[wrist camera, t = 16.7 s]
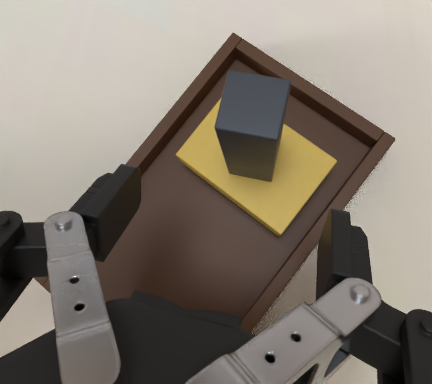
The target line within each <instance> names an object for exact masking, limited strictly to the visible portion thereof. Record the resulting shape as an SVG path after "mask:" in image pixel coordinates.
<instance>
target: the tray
mask: <svg viewBox="0 0 432 384" xmlns="http://www.w3.org/2000/svg"><path fill="white" fill-rule="evenodd" d="M229 70H234V71H240V72H246V73H252V74H258V75H264V76H270V77H276V78H282V79H288V80H291V86H290V92H289V97H288V103H287V108H286V114H285V119H284V124H285V125H287V126H288V127H290V128H291V129H292V130H294V131H295V132H297V133H298V134H300V135H301V136H303V137H304V138H306V139H307V140H308V141H310V142H311V143H313V144H314V145H316V146H317V147H319V148H320V149H321V150H323V151H324V152H326V153H327V154H329V155H330V156H332V157H333V158H334V159H336V160H337V163H336V164H335V165H334V166H333V168H332V169H331V170H330V172H329V173H328V174H327V176H326V177H325V178H324V180H323V181H322V182H321V183H320V185H319V186H318V187H317V189H316V190H315V191H314V193H313V194H312V195H311V197H310V198H309V199H308V200H307V202H306V203H305V204H304V206H303V207H302V208H301V210H300V211H299V212H298V214H297V215H296V216H295V217H294V219H293V220H292V221H291V223H290V224H289V225H288V227H287V228H286V229H285V231H284V232H283V233H282V234H281V236H280V237H277V236H276V235H274V234H273V233H272V232H270V231H269V230H268V229H267V228H265V227H264V226H263V225H261V224H260V223H259V222H257V221H256V220H255V219H253V218H252V217H251V216H250V215H248V214H247V213H246V212H244V211H243V210H242V209H240V208H239V207H238V206H236V205H235V204H234V203H232V202H231V201H230V200H229V199H227V198H226V197H225V196H223V195H222V194H221V193H219V192H218V191H217V190H215V189H214V188H213V187H212V186H210V185H209V184H208V183H206V182H205V181H204V180H202V179H201V178H200V177H198V176H197V175H196V174H194V173H193V172H192V171H191V170H189V169H188V168H187V167H185V166H184V165H183V164H182V162H181V161H180V160H179V158H178V157H177V156H176V153H177V152H178V151H179V150H180V148H181V147H182V146H183V145H184V143H185V142H186V141H187V140H188V139H189V137H190V136H191V135H192V134H193V132H194V131H195V130H196V129H197V127H198V126H199V125H200V124H201V122H202V121H203V120H204V119H205V117H206V116H207V115H208V114H209V112H210V111H211V110H212V109H213V108H214V106H215V105H216V104H217V103H218V101H219V100H220V99H221V98H222V94H223V90H224V86H225V81H226V77H227V73H228V71H229ZM394 141H395V138H394V137H392V136H391V135H389V134H388V133H386V132H384V131H383V130H382V129H380V128H379V127H377V126H376V125H374V124H372V123H371V122H369V121H368V120H366V119H365V118H363V117H362V116H360V115H359V114H357V113H356V112H354V111H353V110H351V109H349V108H348V107H346V106H345V105H343V104H342V103H340V102H339V101H337V100H336V99H334V98H333V97H331V96H330V95H328V94H327V93H325V92H323V91H322V90H320V89H319V88H317V87H316V86H314V85H313V84H311V83H310V82H308V81H307V80H305V79H304V78H302V77H300V76H299V75H297V74H296V73H294V72H293V71H291V70H290V69H288V68H287V67H285V66H284V65H282V64H281V63H279V62H277V61H276V60H274V59H273V58H271V57H270V56H268V55H267V54H265V53H264V52H262V51H261V50H259V49H258V48H256V47H255V46H253V45H251V44H250V43H248V42H247V41H245V40H244V39H242V38H241V37H239V36H238V35H236V34H235V33H232V34H231V36H230V37H229V38H228V39H227V41H226V42H225V43H224V44H223V45H222V47H221V48H220V49H219V50H218V52H217V53H216V54H215V55H214V56H213V58H212V59H211V60H210V61H209V63H208V64H207V65H206V66H205V68H204V69H203V70H202V71H201V72H200V74H199V75H198V76H197V77H196V79H195V80H194V81H193V82H192V83H191V85H190V86H189V87H188V88H187V90H186V91H185V92H184V93H183V95H182V96H181V97H180V98H179V99H178V101H177V102H176V103H175V104H174V106H173V107H172V108H171V109H170V111H169V112H168V113H167V114H166V115H165V117H164V118H163V119H162V120H161V122H160V123H159V124H158V125H157V126H156V128H155V129H154V130H153V131H152V133H151V134H150V135H149V136H148V138H147V139H146V140H145V141H144V142H143V144H142V145H141V146H140V147H139V149H138V150H137V151H136V152H135V153H134V155H133V156H132V157H131V158H130V160H129V161H128V162H127V163H126V165H130V166H134V167H139V168H140V171H141V203H140V207H139V209H138V211H137V212H136V214H135V215H134V217H133V219H132V220H131V222H130V223H129V225H128V226H127V228H126V229H125V231H124V232H123V234H122V235H121V237H120V238H119V240H118V241H117V243H116V244H115V246H114V247H113V249H112V250H111V252H110V253H109V255H108V256H107V258H106V259H105V261H104V262H99V261H95V260H94V261H95V265H96V269H97V273H98V277H99V281H100V285H101V289H102V293H103V297H104V300H105V302H108V301H111V300H115V299H121V298H131V296H132V294H133V292H134V291H135V290H137V291H141V292H145V293H149V294H152V295H156V296H160V297H162V298H164V299H166V300H168V301H170V302H172V303H174V304H176V305H177V306H179V307H181V308H183V309H187V310H213V311H219V312H223V313H227V314H230V315H234V316H238V317H242V321H241V327H243V328H245V329H247V330H248V331H250V332H251V331H252V330H253V329H254V327H255V326H256V325H257V323H258V322H259V321H260V319H261V318H262V317H263V315H264V314H265V313H266V311H267V310H268V309H269V307H270V306H271V305H272V303H273V302H274V301H275V299H276V298H277V297H278V295H279V294H280V293H281V291H282V290H283V289H284V287H285V286H286V285H287V283H288V282H289V281H290V279H291V278H292V277H293V275H294V274H295V273H296V271H297V270H298V269H299V267H300V266H301V265H302V263H303V262H304V261H305V259H306V258H307V257H308V255H309V254H310V253H311V251H312V250H313V249H314V247H315V246H316V245H317V243H318V242H319V240H320V237H321V233H322V230H323V227H324V224H325V221H326V218H327V215H328V212H329V210H330V208H332V209H337V210H343V209H344V207H345V206H346V205H347V203H348V202H349V201H350V199H351V198H352V197H353V195H354V194H355V193H356V191H357V190H358V189H359V187H360V186H361V185H362V183H363V182H364V181H365V179H366V178H367V177H368V175H369V174H370V173H371V171H372V170H373V169H374V167H375V166H376V165H377V163H378V162H379V161H380V159H381V158H382V157H383V155H384V154H385V153H386V151H387V150H388V149H389V148H390V146H391V145H392V144H393V142H394ZM34 279H35V280H36V281H38V282H39V283H40V284H41V285H43V287H44V288H45V289H46V290H47V291H48V292H50V293H51V291H50V283H49V277H34Z"/></svg>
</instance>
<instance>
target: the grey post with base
mask: <svg viewBox="0 0 432 384" xmlns="http://www.w3.org/2000/svg"><path fill="white" fill-rule="evenodd" d="M290 86H291V80H288V79H282V78H276V77H270V76H264V75H258V74H252V73H246V72H240V71H234V70H229V71H228V73H227V77H226V81H225V86H224V90H223V94H222V98H221V99H220V100H219V101H218V103H217V104H216V105H215V106H214V108H213V109H212V110H211V111H210V112H209V114H208V115H207V116H206V117H205V119H204V120H203V121H202V122H201V124H200V125H199V126H198V127H197V129H196V130H195V131H194V132H193V134H192V135H191V136H190V137H189V139H188V140H187V141H186V142H185V143H184V145H183V146H182V147H181V148H180V150H179V151H178V152H177V153H176V156H177V157H178V158H179V160H180V161H181V162H182V164H183V165H184V166H185V167H187V168H188V169H189V170H191V171H192V172H193V173H194V174H196V175H197V176H198V177H200V178H201V179H202V180H204V181H205V182H206V183H208V184H209V185H210V186H212V187H213V188H214V189H215V190H217V191H218V192H219V193H221V194H222V195H223V196H225V197H226V198H227V199H229V200H230V201H231V202H232V203H234V204H235V205H236V206H238V207H239V208H240V209H242V210H243V211H244V212H246V213H247V214H248V215H250V216H251V217H252V218H253V219H255V220H256V221H257V222H259V223H260V224H261V225H263V226H264V227H265V228H267V229H268V230H269V231H270V232H272V233H273V234H274V235H276V236H277V237H280V236H281V234H282V233H283V232H284V231H285V229H286V228H287V227H288V225H289V224H290V223H291V221H292V220H293V219H294V217H295V216H296V215H297V214H298V212H299V211H300V210H301V208H302V207H303V206H304V204H305V203H306V202H307V200H308V199H309V198H310V197H311V195H312V194H313V193H314V191H315V190H316V189H317V187H318V186H319V185H320V183H321V182H322V181H323V180H324V178H325V177H326V176H327V174H328V173H329V172H330V170H331V169H332V168H333V166H334V165H335V164H336V163H337V160H336V159H334V158H333V157H332V156H330V155H329V154H327V153H326V152H324V151H323V150H321V149H320V148H319V147H317V146H316V145H314V144H313V143H311V142H310V141H308V140H307V139H306V138H304V137H303V136H301V135H300V134H298V133H297V132H295V131H294V130H292V129H291V128H290V127H288V126H287V125H285V124H284V119H285V114H286V108H287V103H288V97H289V92H290Z"/></svg>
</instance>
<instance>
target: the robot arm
mask: <svg viewBox="0 0 432 384" xmlns="http://www.w3.org/2000/svg"><path fill="white" fill-rule="evenodd" d="M140 203H141V171H140V168H139V167H134V166H130V165H125V164H121V165H120V166H119V167H118V169H117V170H116V171H115V172H114V173H113V174H112V173H107V174H105V175H103V176H101V177H99V178H98V179H97V180H96V181H95V182H94V183H93V184H92V185H91V187H89V189H88V190H87V191H86V193H84V194H83V195H82V196H81V197H80V199H79V200H78V201H77V202H76V203H75V204H74V205H73V206H72V207H71V209H70V210H69V211H64V212H59V213H55V214H53V215H51V216H50V217H48V218H47V219H46V220H45V222H34V223H23V220H22V217H21V215H20V214H18V213H16V212H13V211H1V212H0V322H1V320H2V319H3V318H4V316H5V315H6V314H7V312H8V311H9V310H10V308H11V307H12V305H13V304H14V303H15V301H16V300H17V299H18V297H19V296H20V295H21V293H22V292H23V291H24V289H25V288H26V287H27V285H28V284H29V282H30V281H31V280H32V278H33V277H49V283H50V291H51V299H52V307H53V315H54V323H55V329H53V330H51V331H50V332H48V333H46V334H44V335H42V336H40V337H38V338H36V339H35V340H33V341H31V342H29V343H27V344H25V345H23V346H21V347H20V348H18V349H16V350H14V351H12V352H10V353H8V354H6V355H5V356H3V357H1V358H0V384H323V383H324V382H325V381H326V380H327V379H329V378H330V377H331V376H332V375H333V374H334V373H335V372H336V371H337V370H338V369H339V368H340V367H341V366H342V365H343V364H344V363H345V362H346V361H347V360H348V359H350V358H351V357H352V356H355V357H356V358H358V359H360V360H362V361H363V362H365V363H367V364H369V365H370V366H372V367H374V368H376V369H377V380H378V384H432V313H431V312H429V311H426V310H421V309H415V310H412V311H410V312H409V313H408V314H405V313H403V312H401V311H399V310H397V309H395V308H393V307H391V306H389V305H388V304H386V303H385V302H384V301H382V300H381V295H380V293H379V291H378V290H377V289H376V288H375V287H374V286H373V283H372V274H371V266H370V257H369V249H368V241H367V236H366V235H365V233H364V232H363V230H362V229H361V227H357V226H352V225H351V221H350V212H346V211H342V210H337V209H332V208H330V210H329V212H328V215H327V218H326V221H325V224H324V227H323V230H322V233H321V237H320V240H319V245H318V254H317V282H316V301H315V302H314V303H312V304H311V305H308V304H307V303H305V302H304V303H301V304H299V305H298V306H297V307H295V308H294V309H292V310H291V311H290V312H288V313H287V314H286V315H284V316H283V317H281V318H280V319H279V320H277V321H276V322H275V323H273V324H272V325H271V326H269V327H268V328H266V329H265V330H264V331H262V332H261V333H260V334H258V335H257V336H255V335H253V334H252V333H251V332H250V331H248V330H247V329H245V328H243V327H241V321H242V317H238V316H234V315H230V314H227V313H223V312H219V311H213V310H187V309H183V308H181V307H179V306H177V305H176V304H174V303H172V302H170V301H168V300H166V299H164V298H162V297H160V296H156V295H152V294H149V293H145V292H141V291H137V290H135V291H134V292H133V294H132V296H131V298H121V299H115V300H111V301H108V302H105V300H104V297H103V293H102V289H101V285H100V281H99V277H98V273H97V269H96V265H95V261H99V262H104V261H105V259H106V258H107V256H108V255H109V253H110V252H111V250H112V249H113V247H114V246H115V244H116V243H117V241H118V240H119V238H120V237H121V235H122V234H123V232H124V231H125V229H126V228H127V226H128V225H129V223H130V222H131V220H132V219H133V217H134V215H135V214H136V212H137V211H138V209H139V207H140ZM94 260H95V261H94Z"/></svg>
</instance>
